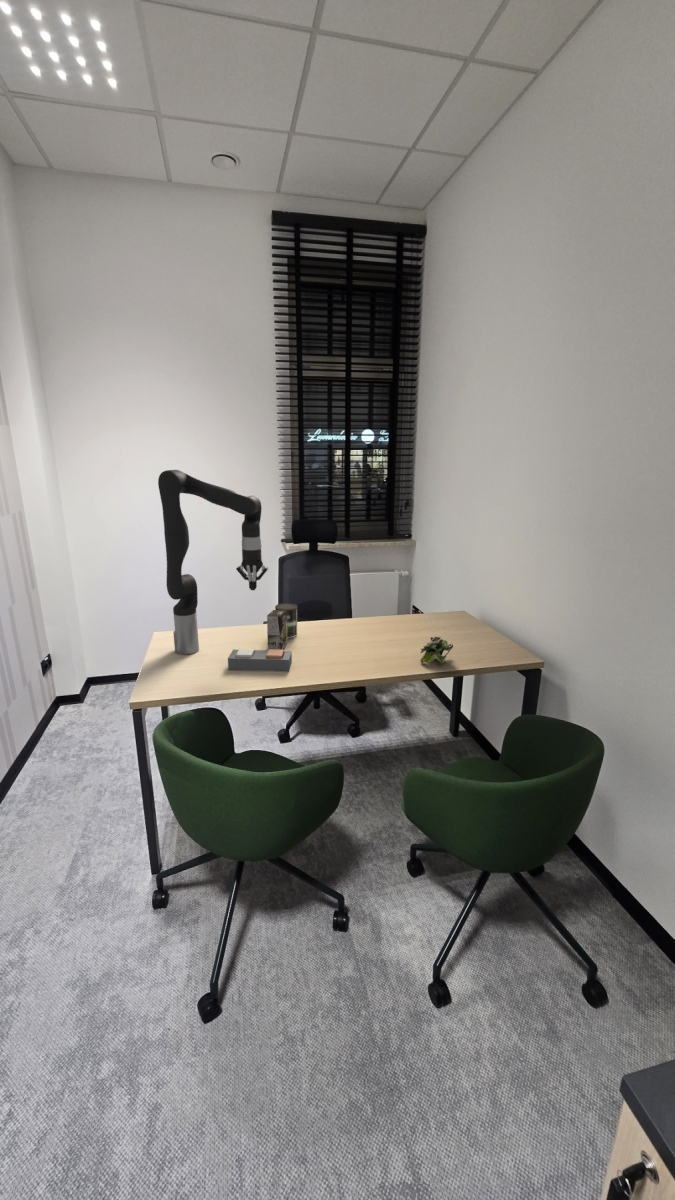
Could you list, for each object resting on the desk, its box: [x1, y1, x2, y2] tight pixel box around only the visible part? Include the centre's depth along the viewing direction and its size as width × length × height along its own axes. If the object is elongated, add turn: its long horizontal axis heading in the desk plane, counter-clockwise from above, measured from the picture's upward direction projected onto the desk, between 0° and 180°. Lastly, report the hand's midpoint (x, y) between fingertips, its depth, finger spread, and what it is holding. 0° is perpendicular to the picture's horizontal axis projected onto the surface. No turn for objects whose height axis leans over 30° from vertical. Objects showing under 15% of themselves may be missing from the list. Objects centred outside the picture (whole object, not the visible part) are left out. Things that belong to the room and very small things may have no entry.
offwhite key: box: [236, 648, 255, 658], centre depth 193 cm, size 6×6×3 cm
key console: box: [227, 649, 293, 672], centre depth 193 cm, size 24×9×5 cm, turn 89°
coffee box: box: [266, 609, 288, 650], centre depth 211 cm, size 9×6×16 cm
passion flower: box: [420, 636, 454, 666], centre depth 199 cm, size 13×12×14 cm
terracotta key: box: [267, 649, 285, 659], centre depth 193 cm, size 6×6×3 cm
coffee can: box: [274, 602, 298, 639], centre depth 226 cm, size 10×10×14 cm
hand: (253, 589), depth 195 cm, fingers closed
